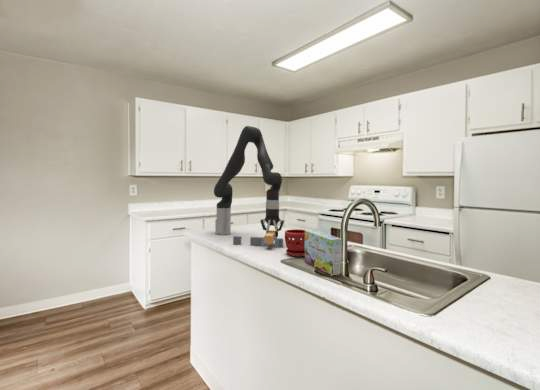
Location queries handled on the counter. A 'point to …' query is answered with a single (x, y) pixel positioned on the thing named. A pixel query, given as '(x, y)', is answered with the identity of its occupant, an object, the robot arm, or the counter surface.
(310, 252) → the snack box
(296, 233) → the plant pot
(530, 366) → the counter surface
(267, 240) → the banded orange pillar
